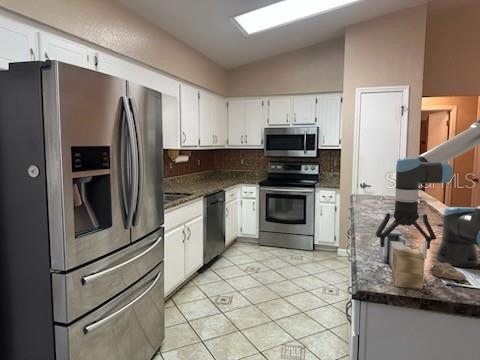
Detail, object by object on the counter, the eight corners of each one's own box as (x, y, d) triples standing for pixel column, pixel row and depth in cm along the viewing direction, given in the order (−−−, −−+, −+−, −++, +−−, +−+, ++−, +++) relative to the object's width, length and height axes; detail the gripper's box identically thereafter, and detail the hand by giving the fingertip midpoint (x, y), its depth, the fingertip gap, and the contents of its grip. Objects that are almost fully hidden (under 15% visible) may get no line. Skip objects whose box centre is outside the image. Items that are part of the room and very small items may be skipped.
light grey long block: (400, 263, 136) (402, 241, 135) (412, 281, 118) (414, 256, 117) (388, 262, 137) (389, 241, 136) (398, 279, 119) (400, 255, 118)
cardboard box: (416, 280, 120) (418, 249, 119) (422, 288, 113) (424, 256, 112) (391, 278, 122) (393, 247, 121) (396, 286, 115) (397, 254, 114)
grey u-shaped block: (397, 254, 148) (399, 230, 146) (403, 263, 137) (405, 237, 136) (379, 253, 149) (380, 229, 148) (383, 262, 138) (385, 236, 137)
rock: (427, 275, 126) (454, 280, 117) (428, 259, 127) (454, 263, 118) (441, 277, 129) (468, 282, 120) (442, 261, 130) (469, 265, 121)
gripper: (440, 199, 122) (437, 255, 124) (368, 197, 128) (367, 251, 130) (448, 202, 115) (445, 262, 117) (371, 201, 120) (370, 257, 123)
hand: (404, 256), depth 124 cm, fingers open, 13 cm apart
